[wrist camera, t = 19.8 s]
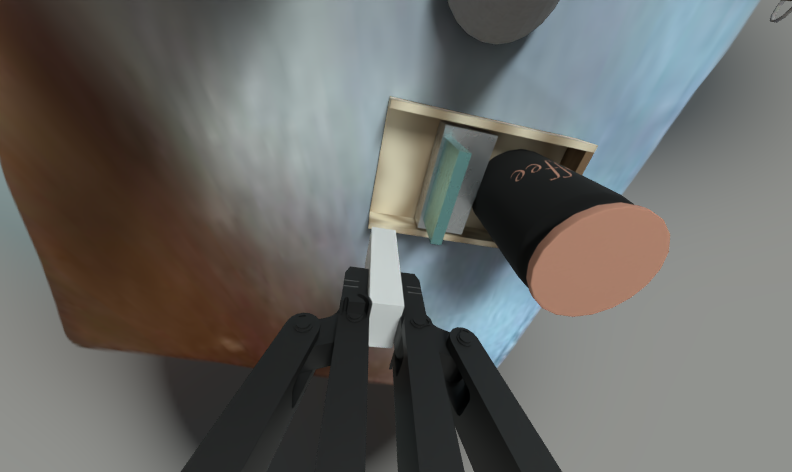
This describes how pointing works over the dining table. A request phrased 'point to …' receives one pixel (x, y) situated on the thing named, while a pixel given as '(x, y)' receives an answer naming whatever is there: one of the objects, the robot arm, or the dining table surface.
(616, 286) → the coffee jar
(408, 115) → the channel
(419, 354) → the robot arm
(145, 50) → the dining table surface
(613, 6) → the dining table surface
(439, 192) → the teal piece
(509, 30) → the coffee pot
